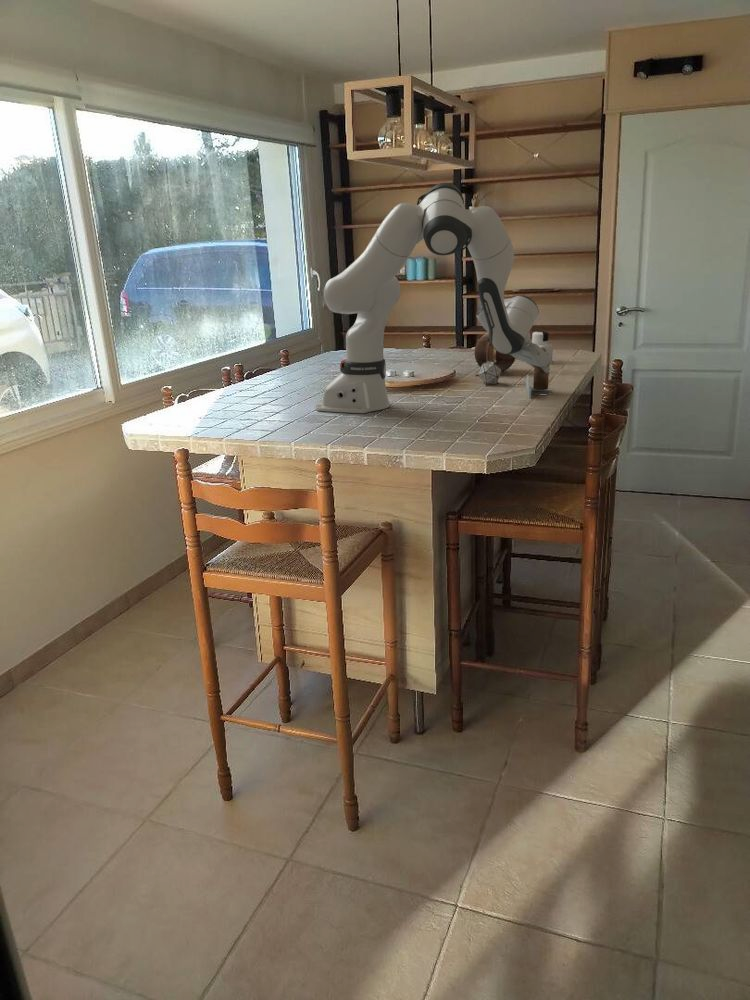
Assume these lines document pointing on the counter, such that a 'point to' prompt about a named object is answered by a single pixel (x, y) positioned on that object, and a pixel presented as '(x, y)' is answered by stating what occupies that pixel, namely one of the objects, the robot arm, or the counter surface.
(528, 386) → the clear wall
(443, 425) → the counter surface
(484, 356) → the wooden sphere
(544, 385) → the pepper mill
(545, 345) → the medicine bottle
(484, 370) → the game die
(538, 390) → the slate coaster
